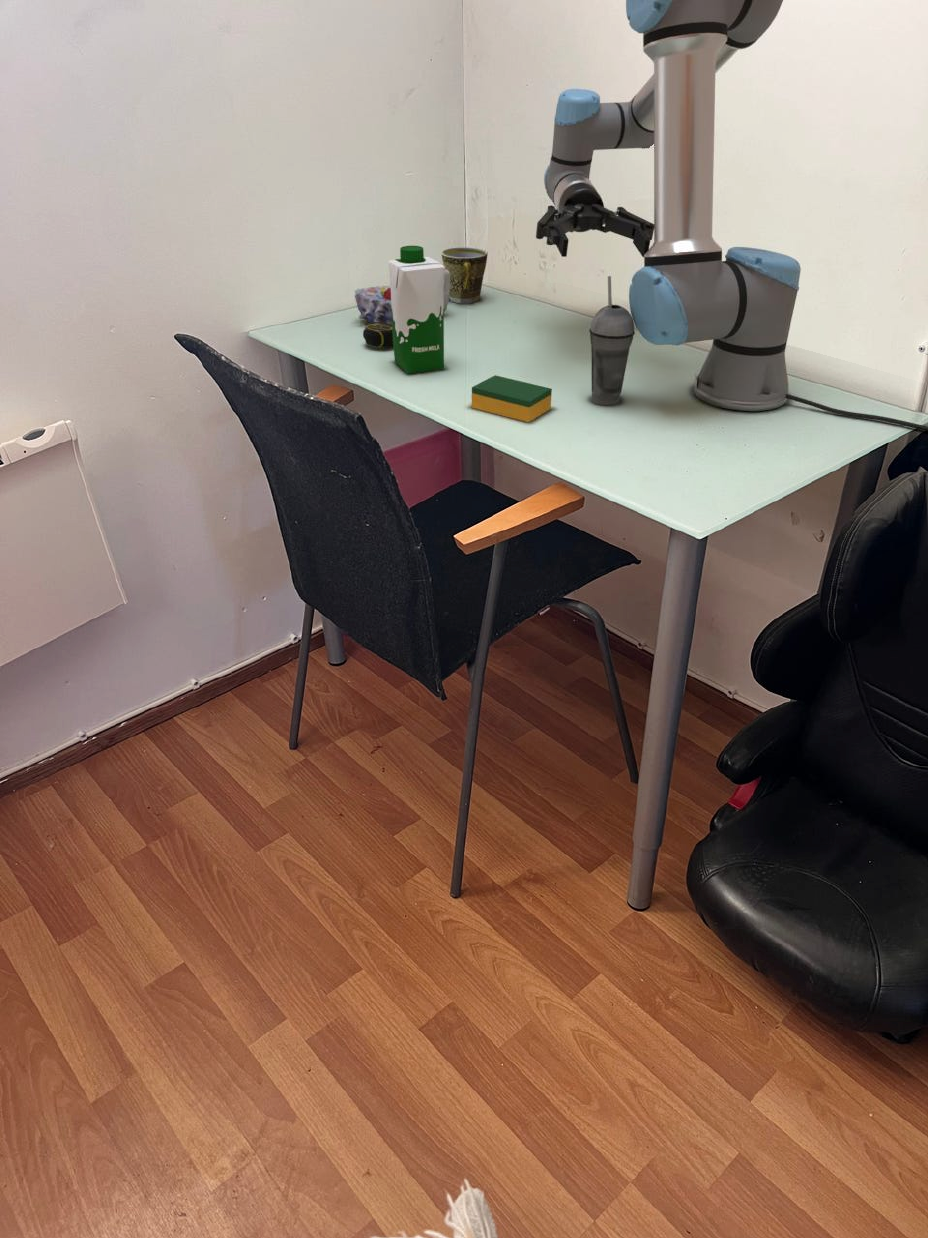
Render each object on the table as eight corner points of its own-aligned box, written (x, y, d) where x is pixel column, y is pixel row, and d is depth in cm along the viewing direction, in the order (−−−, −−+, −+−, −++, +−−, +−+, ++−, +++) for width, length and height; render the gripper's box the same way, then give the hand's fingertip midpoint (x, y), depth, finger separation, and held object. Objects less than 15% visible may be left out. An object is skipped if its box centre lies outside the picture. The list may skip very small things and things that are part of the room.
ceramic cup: (440, 293, 207) (439, 247, 201) (483, 292, 208) (484, 246, 202) (445, 310, 196) (445, 261, 191) (491, 309, 197) (492, 260, 192)
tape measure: (406, 343, 178) (405, 323, 176) (388, 353, 173) (387, 333, 171) (376, 338, 180) (375, 319, 178) (357, 348, 175) (356, 328, 173)
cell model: (457, 261, 187) (389, 283, 175) (458, 314, 193) (392, 338, 181) (411, 250, 194) (342, 271, 182) (413, 302, 200) (347, 325, 188)
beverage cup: (626, 409, 150) (639, 283, 138) (581, 406, 151) (591, 281, 140) (628, 394, 156) (641, 272, 144) (585, 391, 157) (595, 269, 146)
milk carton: (432, 355, 172) (430, 242, 161) (451, 370, 165) (450, 254, 154) (388, 361, 169) (383, 247, 158) (405, 377, 162) (401, 258, 151)
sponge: (550, 409, 150) (552, 388, 148) (528, 422, 145) (529, 401, 143) (494, 394, 155) (495, 374, 153) (471, 407, 150) (471, 387, 148)
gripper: (642, 226, 168) (675, 271, 153) (508, 224, 165) (528, 271, 150) (649, 182, 163) (684, 225, 148) (512, 180, 160) (533, 223, 145)
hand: (606, 248), depth 149 cm, fingers open, 13 cm apart
